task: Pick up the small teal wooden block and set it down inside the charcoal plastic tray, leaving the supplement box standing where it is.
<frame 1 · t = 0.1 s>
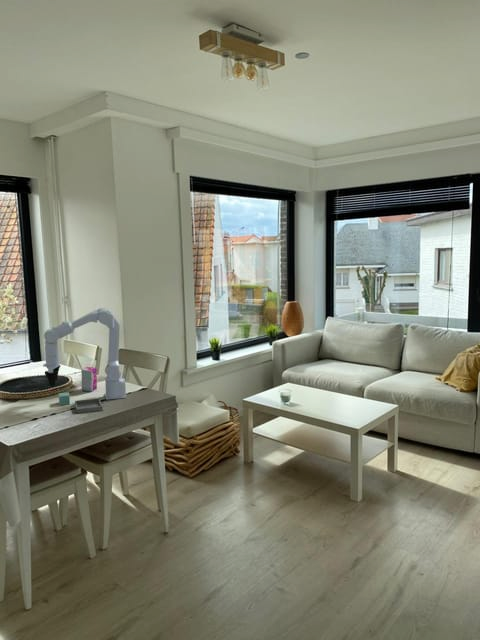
hand: (53, 383, 228), 10 cm above the table, tool pointing down, fingers open, 7 cm apart
tray: (88, 407, 225), on the table
supplement box: (89, 390, 249), on the table
teal block: (64, 403, 230), on the table
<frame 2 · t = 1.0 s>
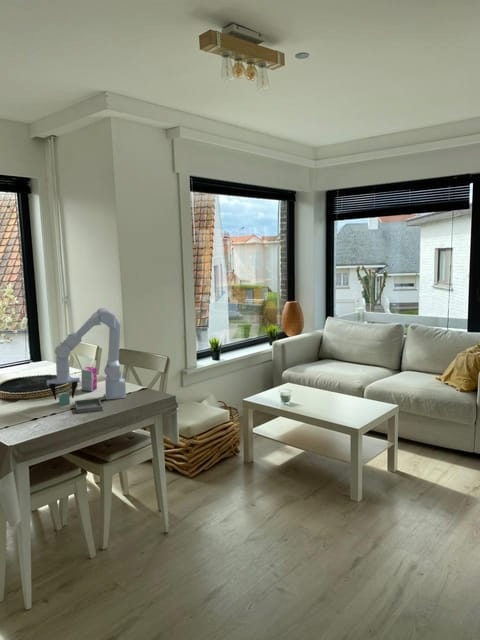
hand: (64, 398, 229), 3 cm above the table, tool pointing down, fingers open, 7 cm apart
nothing on the table moved.
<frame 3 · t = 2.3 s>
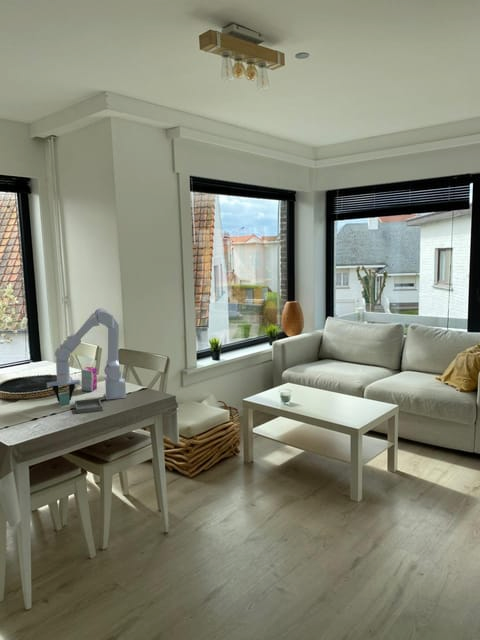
hand: (64, 400, 229), 1 cm above the table, tool pointing down, fingers closed on teal block, 4 cm apart
teal block: (64, 403, 230), on the table, touching gripper
everything else where it was.
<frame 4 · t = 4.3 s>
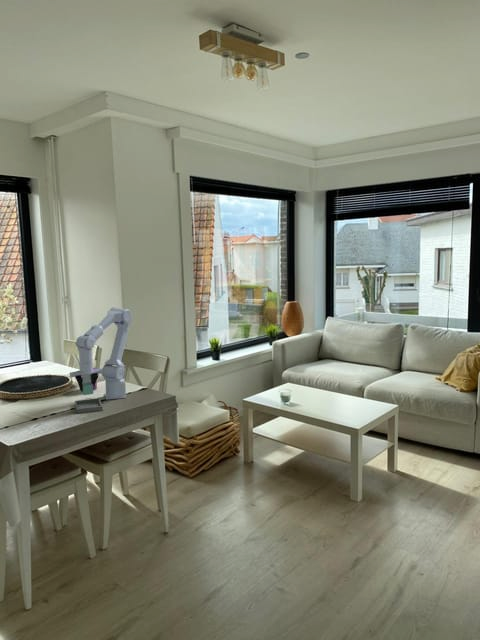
hand: (87, 390, 224), 8 cm above the table, tool pointing down, fingers closed on teal block, 4 cm apart
teal block: (87, 393, 224), point 7 cm above the table, touching gripper
everything else where it was.
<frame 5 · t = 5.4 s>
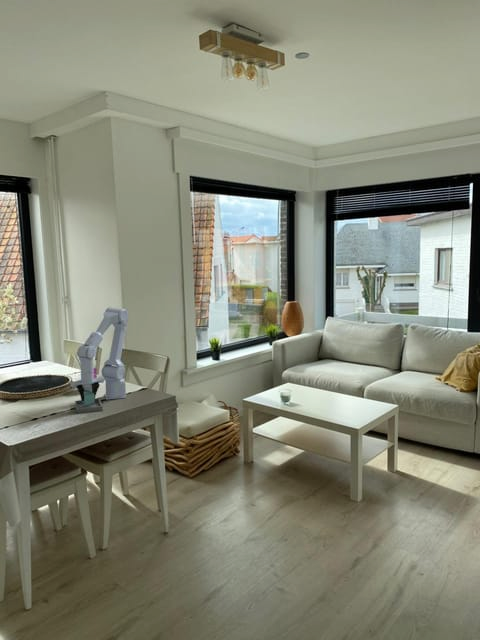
hand: (88, 399, 224), 4 cm above the table, tool pointing down, fingers closed on teal block, 4 cm apart
teal block: (88, 402, 224), point 3 cm above the table, touching gripper
everything else where it was.
when the fingers open (4 cm above the table, at t = 6.4 s): teal block drops 2 cm, resting on tray.
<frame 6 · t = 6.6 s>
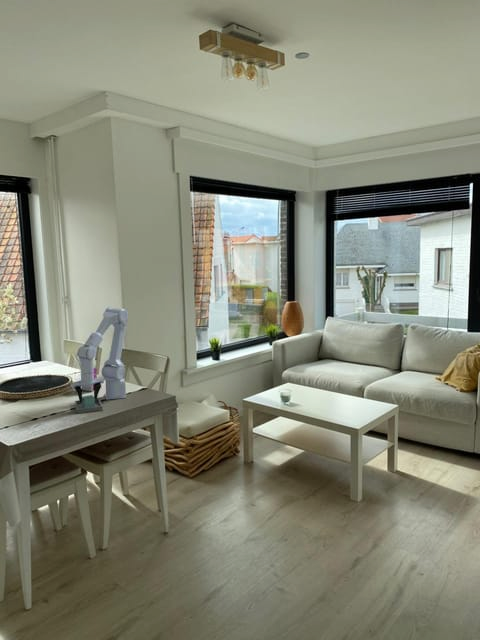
hand: (88, 400, 224), 4 cm above the table, tool pointing down, fingers open, 6 cm apart
teal block: (88, 406, 225), point 1 cm above the table, touching tray
everything else where it was.
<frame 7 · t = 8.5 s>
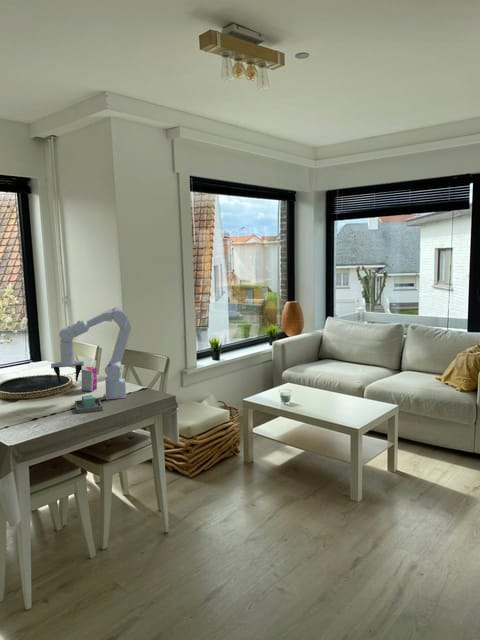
hand: (68, 381, 230), 10 cm above the table, tool pointing down, fingers open, 7 cm apart
nothing on the table moved.
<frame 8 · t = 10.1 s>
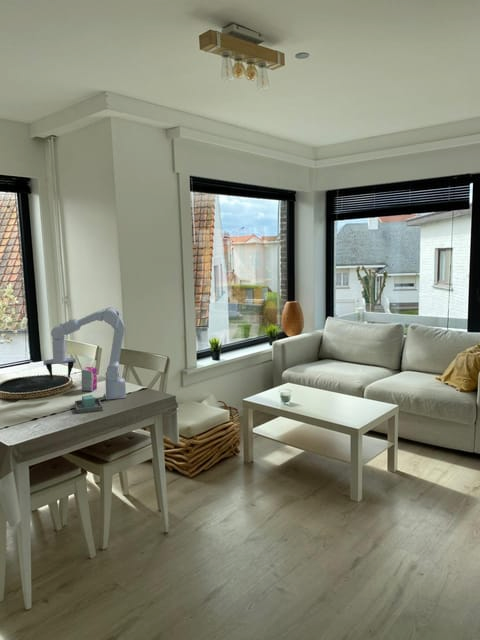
hand: (60, 378, 234), 10 cm above the table, tool pointing down, fingers open, 7 cm apart
nothing on the table moved.
at the end: teal block 0.0 cm off-centre on the tray, point 0.6 cm above the tray's base; teal block tilted 0°; the gripper is holding nothing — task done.
